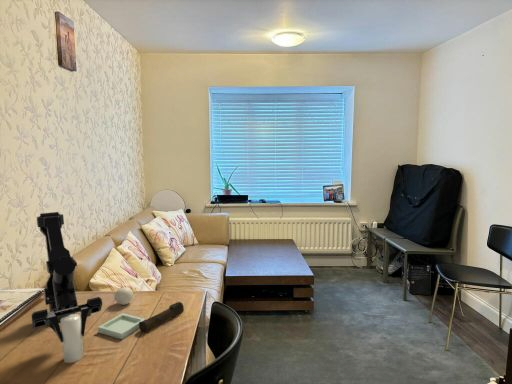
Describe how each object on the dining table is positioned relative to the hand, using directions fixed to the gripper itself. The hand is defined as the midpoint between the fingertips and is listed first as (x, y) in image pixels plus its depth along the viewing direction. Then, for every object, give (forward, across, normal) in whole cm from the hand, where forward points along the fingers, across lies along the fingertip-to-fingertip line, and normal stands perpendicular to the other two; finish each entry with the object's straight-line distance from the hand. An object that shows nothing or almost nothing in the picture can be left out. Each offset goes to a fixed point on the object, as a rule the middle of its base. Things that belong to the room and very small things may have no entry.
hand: (72, 338), depth 102 cm
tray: (-3, -17, -12) cm, 21 cm away
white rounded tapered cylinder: (+4, 0, -6) cm, 7 cm away
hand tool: (0, -30, -10) cm, 32 cm away
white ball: (-17, -23, -27) cm, 39 cm away
